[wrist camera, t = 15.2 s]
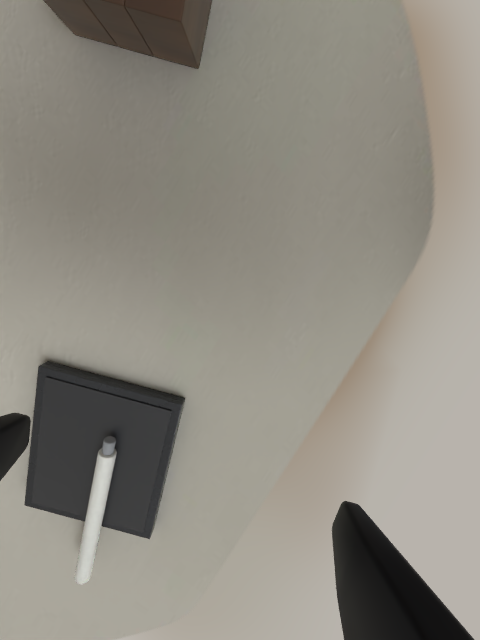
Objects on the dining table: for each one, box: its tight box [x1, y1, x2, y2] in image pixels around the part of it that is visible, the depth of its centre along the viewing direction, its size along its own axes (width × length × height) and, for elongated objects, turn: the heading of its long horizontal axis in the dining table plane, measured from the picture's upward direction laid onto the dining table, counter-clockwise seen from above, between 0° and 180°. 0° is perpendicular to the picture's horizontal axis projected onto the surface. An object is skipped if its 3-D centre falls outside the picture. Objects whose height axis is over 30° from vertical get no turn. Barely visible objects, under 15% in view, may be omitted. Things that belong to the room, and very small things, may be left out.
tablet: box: [25, 361, 185, 539], centre depth 23 cm, size 10×12×1 cm
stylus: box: [74, 436, 117, 584], centre depth 23 cm, size 1×1×13 cm
